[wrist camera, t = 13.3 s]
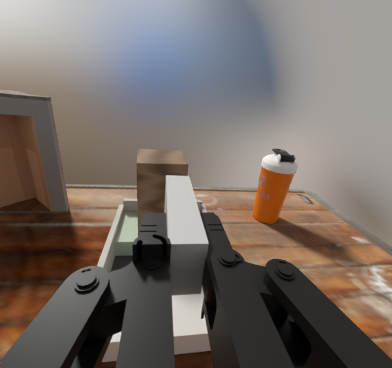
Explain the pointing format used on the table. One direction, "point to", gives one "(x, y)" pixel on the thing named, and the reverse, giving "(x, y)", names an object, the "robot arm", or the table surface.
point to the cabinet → (30, 156)
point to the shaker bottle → (273, 185)
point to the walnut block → (156, 178)
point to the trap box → (181, 304)
